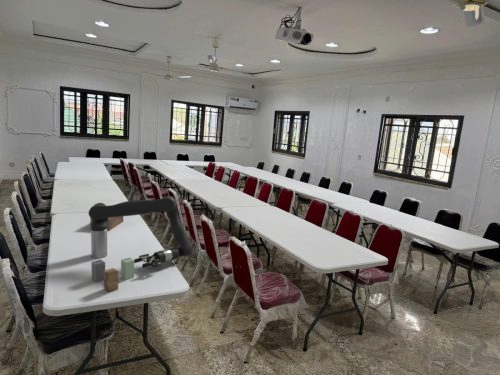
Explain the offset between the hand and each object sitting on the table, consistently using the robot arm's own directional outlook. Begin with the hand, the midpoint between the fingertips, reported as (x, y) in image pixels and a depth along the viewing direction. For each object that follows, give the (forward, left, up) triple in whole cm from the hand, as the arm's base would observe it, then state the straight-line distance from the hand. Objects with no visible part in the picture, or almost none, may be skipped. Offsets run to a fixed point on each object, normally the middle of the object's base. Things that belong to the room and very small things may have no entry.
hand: (138, 263), depth 193 cm
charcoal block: (-7, -20, -6) cm, 22 cm away
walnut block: (+7, -20, -6) cm, 22 cm away
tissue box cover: (-92, +27, -7) cm, 96 cm away
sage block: (0, -7, -6) cm, 9 cm away
